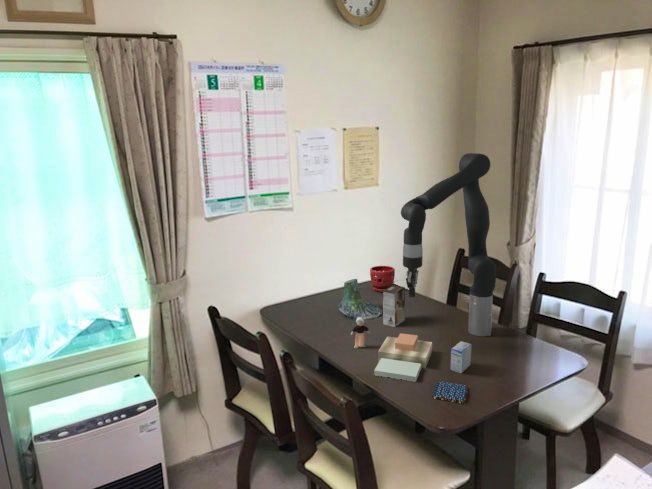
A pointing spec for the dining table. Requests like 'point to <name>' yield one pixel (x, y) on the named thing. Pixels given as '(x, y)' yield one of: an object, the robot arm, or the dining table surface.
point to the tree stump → (357, 303)
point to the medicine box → (460, 357)
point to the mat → (398, 369)
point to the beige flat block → (406, 352)
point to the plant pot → (382, 277)
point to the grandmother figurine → (360, 333)
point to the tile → (406, 342)
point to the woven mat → (450, 392)
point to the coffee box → (393, 305)
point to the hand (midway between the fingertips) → (412, 296)
